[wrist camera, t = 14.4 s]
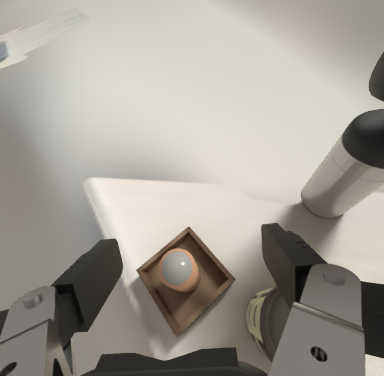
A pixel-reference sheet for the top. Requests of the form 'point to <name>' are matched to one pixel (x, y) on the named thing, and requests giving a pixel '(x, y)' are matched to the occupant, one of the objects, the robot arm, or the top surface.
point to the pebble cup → (179, 271)
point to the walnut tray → (194, 301)
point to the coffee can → (267, 320)
